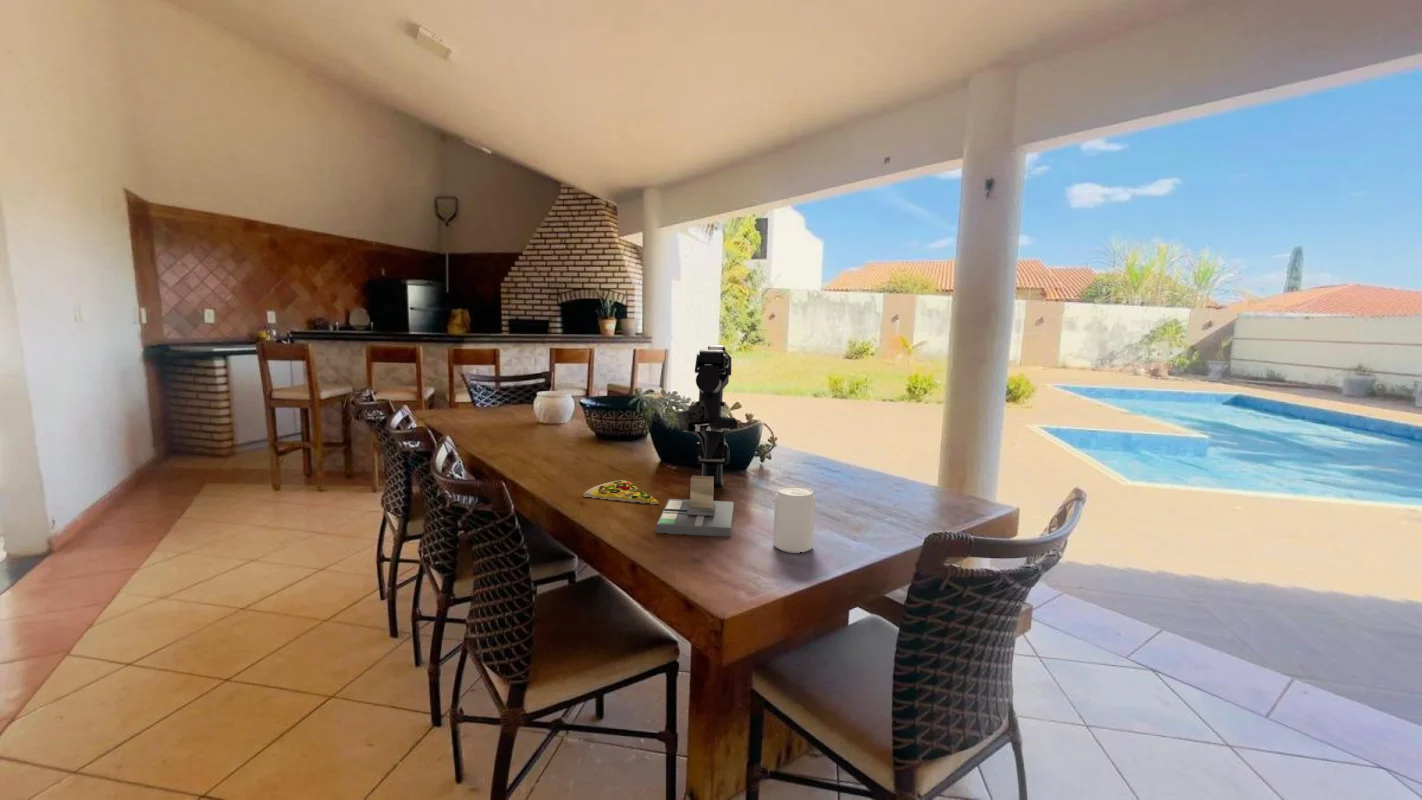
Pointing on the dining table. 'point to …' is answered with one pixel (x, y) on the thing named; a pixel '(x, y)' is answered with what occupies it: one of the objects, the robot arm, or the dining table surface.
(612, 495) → the pizza slice
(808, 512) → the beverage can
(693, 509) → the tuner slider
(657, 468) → the dining table surface
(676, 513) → the board
